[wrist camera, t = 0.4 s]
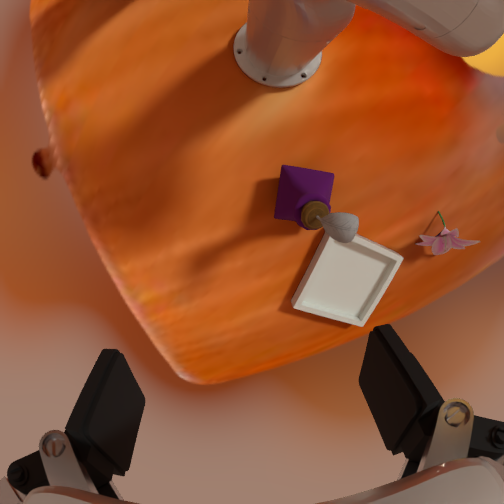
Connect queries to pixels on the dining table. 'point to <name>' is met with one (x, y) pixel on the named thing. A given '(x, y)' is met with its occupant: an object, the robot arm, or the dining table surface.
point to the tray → (346, 279)
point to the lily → (445, 241)
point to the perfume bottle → (312, 203)
